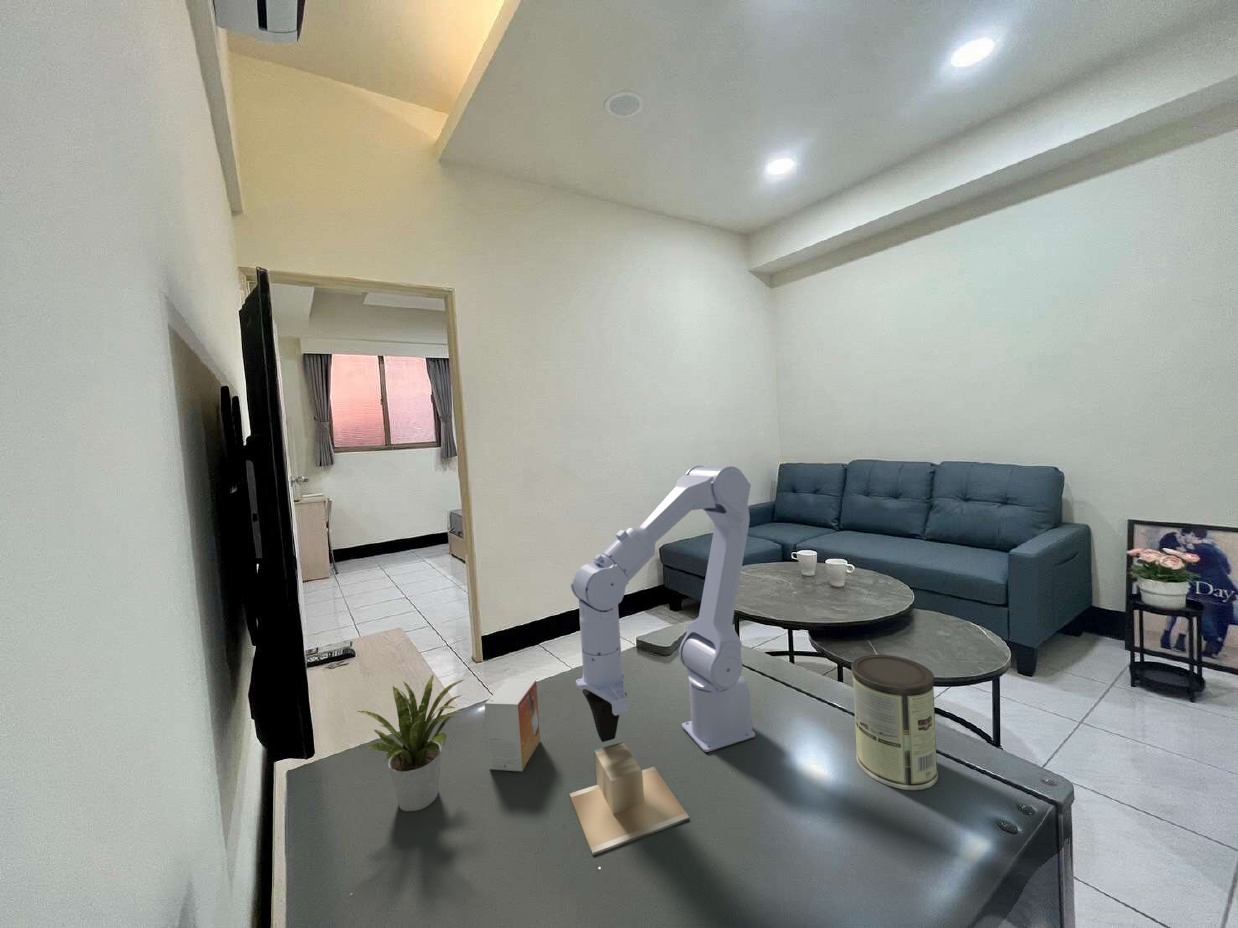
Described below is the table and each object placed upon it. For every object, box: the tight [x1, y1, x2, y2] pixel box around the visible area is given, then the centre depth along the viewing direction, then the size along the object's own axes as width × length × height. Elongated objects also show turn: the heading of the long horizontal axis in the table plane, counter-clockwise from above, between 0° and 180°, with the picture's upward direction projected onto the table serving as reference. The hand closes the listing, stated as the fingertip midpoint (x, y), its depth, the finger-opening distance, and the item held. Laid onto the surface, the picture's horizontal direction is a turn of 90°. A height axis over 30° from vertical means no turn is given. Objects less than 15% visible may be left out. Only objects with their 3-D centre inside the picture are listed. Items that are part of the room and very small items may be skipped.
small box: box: [484, 678, 541, 772], centre depth 77 cm, size 8×6×10 cm
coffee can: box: [850, 654, 939, 791], centre depth 69 cm, size 10×10×14 cm
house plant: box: [356, 674, 466, 812], centre depth 69 cm, size 14×14×16 cm
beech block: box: [593, 741, 644, 814], centre depth 67 cm, size 4×4×7 cm
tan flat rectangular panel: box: [569, 766, 690, 856], centre depth 65 cm, size 13×11×1 cm
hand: (607, 737), depth 71 cm, fingers closed
